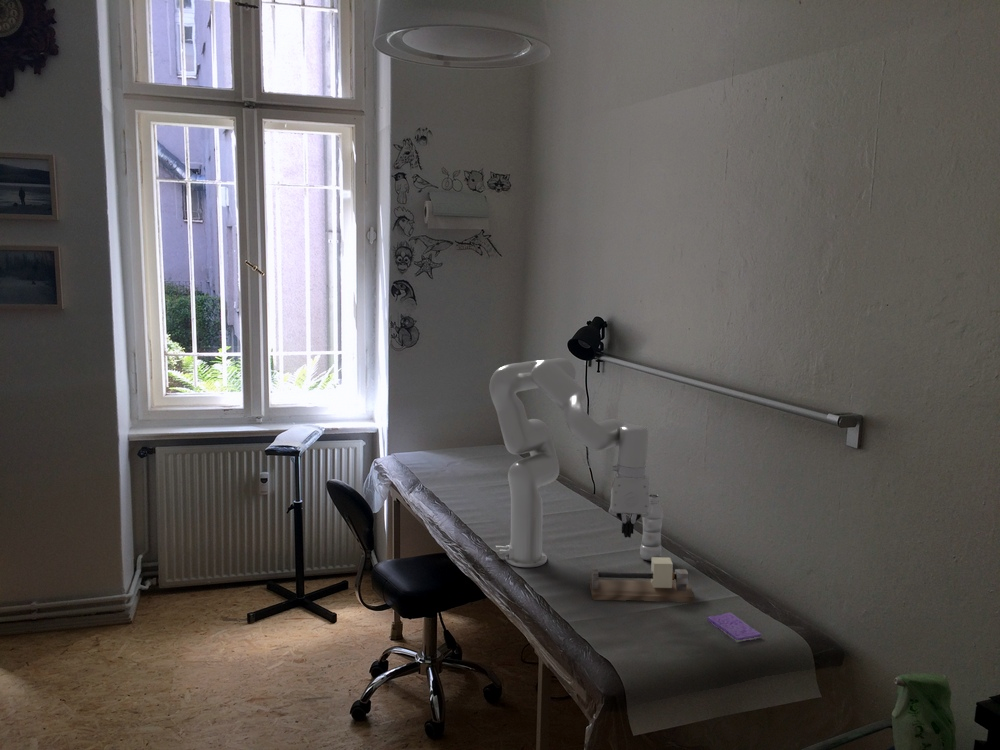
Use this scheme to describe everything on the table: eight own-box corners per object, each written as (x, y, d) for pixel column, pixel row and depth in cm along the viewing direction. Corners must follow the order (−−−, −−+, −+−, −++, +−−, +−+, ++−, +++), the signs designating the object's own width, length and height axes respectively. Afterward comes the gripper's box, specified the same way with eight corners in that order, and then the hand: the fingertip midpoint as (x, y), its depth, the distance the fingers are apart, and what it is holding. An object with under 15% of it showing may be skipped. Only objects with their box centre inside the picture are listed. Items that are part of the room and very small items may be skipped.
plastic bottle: (635, 557, 244) (637, 494, 241) (654, 554, 247) (657, 492, 244) (646, 564, 238) (649, 500, 235) (665, 561, 241) (668, 498, 238)
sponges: (736, 645, 190) (737, 637, 190) (706, 622, 202) (706, 615, 202) (761, 640, 193) (761, 633, 192) (729, 618, 204) (730, 611, 204)
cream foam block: (653, 587, 215) (654, 563, 214) (650, 580, 220) (651, 557, 219) (671, 587, 215) (672, 564, 214) (668, 581, 219) (669, 557, 218)
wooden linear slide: (592, 599, 213) (593, 576, 212) (589, 584, 223) (590, 562, 222) (693, 602, 212) (694, 579, 211) (686, 586, 222) (687, 564, 221)
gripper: (604, 473, 210) (600, 539, 213) (661, 476, 209) (656, 542, 212) (602, 465, 217) (598, 529, 220) (657, 468, 216) (652, 532, 220)
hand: (627, 535), depth 216 cm, fingers closed
